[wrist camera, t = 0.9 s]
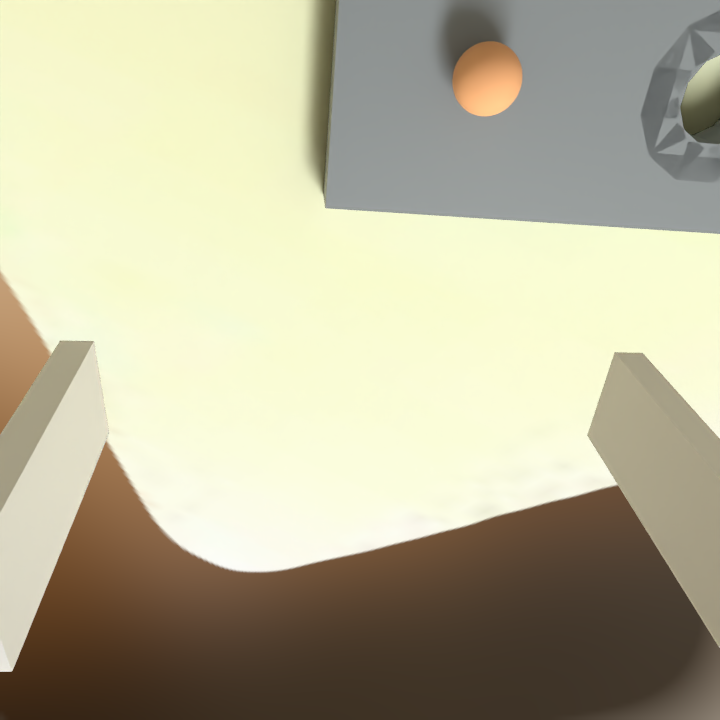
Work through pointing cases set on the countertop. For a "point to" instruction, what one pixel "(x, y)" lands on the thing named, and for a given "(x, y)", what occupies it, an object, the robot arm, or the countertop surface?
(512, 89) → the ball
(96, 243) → the countertop surface
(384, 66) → the plate
